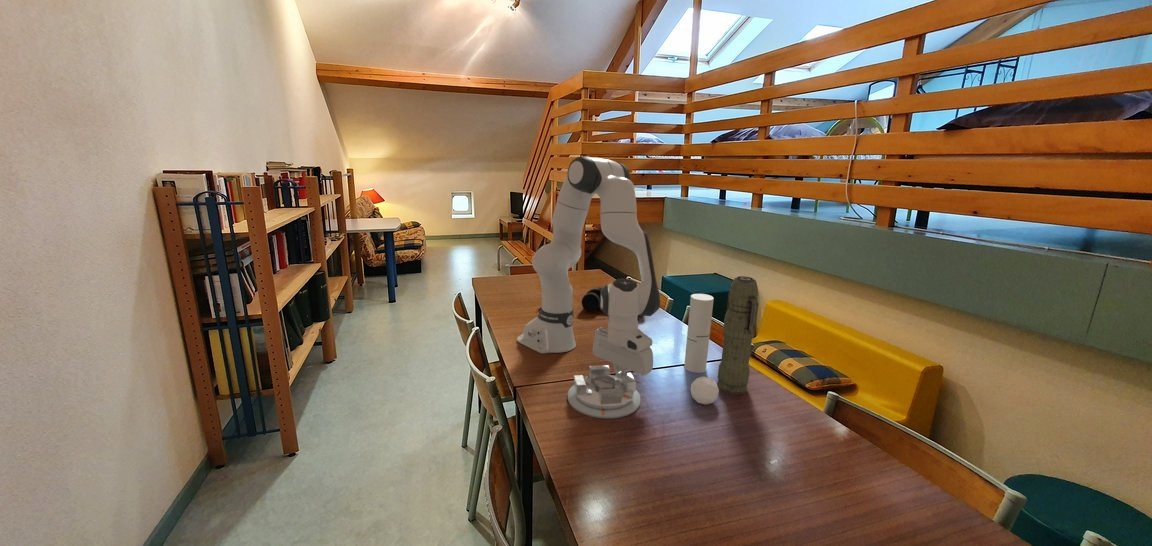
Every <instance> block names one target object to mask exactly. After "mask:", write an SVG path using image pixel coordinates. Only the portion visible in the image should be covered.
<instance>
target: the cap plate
mask: <svg viewBox="0 0 1152 546" xmlns="http://www.w3.org/2000/svg"><path fill="white" fill-rule="evenodd" d="M567 400H568V401H567V402H568V404H569V405H570V407H572V409H574V410H575V411H577V413H580V414H582V415H585V416H588V417H592V418H595V419H602V420H603V419H605V420H607V419H608V420H609V419H612V420H613V419H619V418H624V417H627V416H629V415H631V414H633V413H635V411H637V410H638V409H639V407H640V405H641V395H640V393H639V391H638V390H637V389H636V392H634V397H633V401H632V402H631V403H630V404H629V405H628V406H626V407H624V408H621V409H617V410H598V409H593V408H590V407H587V406H585V405H583V404H581V403H580V402H579V401H578V400H577V399H576V397H575V387H574V384H573V385H572V386H571V387H570V388H569V390H568V391H567Z"/></svg>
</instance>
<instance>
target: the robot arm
mask: <svg viewBox="0 0 1152 546" xmlns="http://www.w3.org/2000/svg"><path fill="white" fill-rule="evenodd" d="M595 195H597V196H598V198H599V200H600V208H599V209H600V211H599V213H600V215H599V216H600V219H599V220H600V227H601V228H600V229H601V232H602V234H603V235H604V237H606V239H608V240H610V241H611V242H612V243H614V244H616V245H619V246H622V247H623V248H624V247H625V248H626V249H629V250H630V251H632V252H633V253H634V254H635V255H636V257H637V260H638V261H637V262H638V269H639V274H640V279H641V282H640V283H637V282H635V281H634V280H633V279H629V278H618V279H615V280H613V281H612V283H609V284H605V285H604V286H603V287H601V288H602V290H601V291H600V309H601V310H600V311H601V312H603V313H604V314H605V315H606V316H608V317H609V319H608V322H607V328H604V327H602V326H599V327H597V328H596V329H595V330H594V337H593V343H592V348H591V349H592V351H591V352H592V354H593V356H594V357H597V358H600V359H602V360H604V361H606V362H609V363H612V368H613V369H614V372H615V376H616V377H617V378H619V379H622V374H623V373H627V372H628V370H629V371H631V372H634V373H635V374H636V373H637V374H638V375H641V376H644V377H645V376H646V375H649V374H650V373H651V372H652V371H653V368H654V353H653V350H652V348H651V346H652V345H653V342H654V341H653V339H652V337H650V336H648V335H647V334H645V333H644V332H643V331H641V329H640V328H639V323H638V316H642V317H643V316H645V317H652V316H653V315H654V314H655V313H657V312H658V311H659V310H660V308H661V295H660V291H659V287H658V282H657V278H656V277H657V276H656V271H655V266H654V265H655V264H654V258H653V254H652V248H651V243H650V239H649V237H648V233H647V232H646V231H644V230H642V228H641V226H640V224H639V221H638V216H637V214H638V212H637V210H638V209H637V199H636V198H637V197H636V190H635V185H634V183H633V181H632V180H631V173H630V170H629V168H628V167H627V166H626V165H625V164H623V163H621V162H620V161H615V160H611V159H607V158H604V157H593V156H592V157H591V156H587V155H584V156H583V155H581V156H577V157H575V158H574V159H572V161H570V163H569V165H568V168H567V175H566V177H565V179H564V181H563V184H562V185H561V188H560V191H559V193H558V196H557V200H556V203H555V207H554V211H553V214H552V218H551V224H552V229H553V230H552V239H551V241H550V242H549V243H547V244H544V245H542V246H541V247H540V248H538V249H537V250H536V251H535V252H534V254H533V256H532V261H531V263H532V267H533V270H534V271H535V272H536V273H537V274H538V276H539V277H538V278H539V282H540V285H541V306H540V307H539V308H537V309H536V310H535V313H538V315H537V316H536V317H535V318H533V319H531V320H530V321H529V322H528V323H526V324H525V325H524V327H523V331H522V332H523V333H522V334H520V335H519V336H517V338H516V342H518V344H522V345H523V346H525V347H527V348H529V349H531V350H533V351H535V352H537V353H539V354H548V353H549V354H550V353H555V354H556V353H558V354H559V353H566V352H569V351H571V350H573V349H575V348H576V346H577V343H576V341H575V334H574V326H573V323H574V308H573V297H574V295H573V294H574V293H573V292H574V291H573V286H572V285H571V283H570V280H569V274H568V272H569V269H570V268H572V267H574V266H575V265H576V264H577V263H578V262H579V260H580V258H581V256H582V246H581V244H582V236H583V235H582V234H583V231H584V226H585V222H586V219H587V216H588V213H589V209H590V206H591V201H592V199H593V197H594V196H595Z"/></svg>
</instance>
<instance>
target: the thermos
mask: <svg viewBox="0 0 1152 546" xmlns="http://www.w3.org/2000/svg"><path fill="white" fill-rule="evenodd" d="M732 280H733V281H732V282H731V285H730V288H729V291H728V292H727V301H726V313H725V315H724V320H723V331H722V333H723V345H722V353H721V360H720V363H719V365H718V369H717V370H718V371H717V382H716V383H717V386H718V389H719V391H720V390H721V391H722V392H724V393H727V394H730V393H731V395H742V394H746V392H747V388H748V384H749V380H750V372H751V371H750V367H749V363H750V356H751V351H752V349H751V348H752V341H753V339H754V337H755V332H756V326H757V325H756V324H757V318H758V310H759V302H758V293H759V292H758V291H759V288H758V284H757V280H756V279H754V278H753V277H750V276H746V275H745V276H744V275H742V276H737V277H734V279H732Z"/></svg>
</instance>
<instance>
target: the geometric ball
mask: <svg viewBox="0 0 1152 546" xmlns="http://www.w3.org/2000/svg"><path fill="white" fill-rule="evenodd" d="M717 383H718V382H715V380H714V379H712V378H711V377H708V376H704V375H703V376H700V377H697V378H695V380H694V381H692V382H691V386H690V393H691V397H692V399H694V401H695V402H697V403H698V404H701V405H709V404H710V405H711V404H713V403H714V402H715V401H716V400H717V399H718V397H719V392H720V389H719V388H718V386H717Z"/></svg>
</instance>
